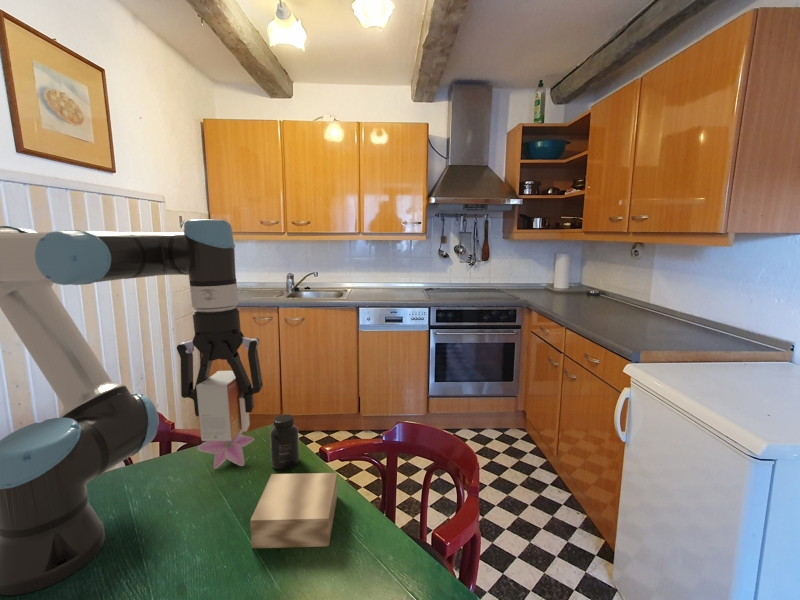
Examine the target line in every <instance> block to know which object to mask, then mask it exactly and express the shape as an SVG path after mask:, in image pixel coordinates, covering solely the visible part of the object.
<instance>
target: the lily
mask: <svg viewBox="0 0 800 600" xmlns="http://www.w3.org/2000/svg"><path fill="white" fill-rule="evenodd" d="M254 441H255V437H252V436H250V435H246V434H245V435H243V432H242V429H241V430H240V431H239V432H238V434H237V435H236V436H235V437H234V438H233V439H232V440H231V441H203V442H202V443H201V444H199V445H198V446H197V447H196V450H197V451H198V452H201V453H207V454H210V455H211V454H212V455H214V458H213V459H214V460H213V469H214V470H217V469H218V468H219V467H220V466H222V465H223V464H224V462H225V461H226V460H228V461H229V462H230V463H231V462H232V463H233V464H236V466H237V465H238V466H239V467H243V466H245V455H244V450H243V447H246V446H247V445H249V444H251V443H252V442H254Z"/></svg>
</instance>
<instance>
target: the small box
mask: <svg viewBox="0 0 800 600" xmlns="http://www.w3.org/2000/svg"><path fill="white" fill-rule="evenodd" d="M195 385H196V384H195ZM196 388H197V399H198V410H199V416H198V419H199V420H198V421H199V428H200V429H199V431H200V438H201V439H200V440H201V441H202V442H206V441H231V440H232V439H233V438H234V437H235V436H236V435H237V434H238V432H239V431H240V430H241V429H242V424H241V412H240V400H239V398H240V397H241V395H242V394H243V393H242V391H241V388H240V386H239V384H238V382H237V379H236V377H235V375H234V373H233V371H232V370H217V371H216V372H215V373H213V374H212V375H210V376H208V379H206V380H205V381H204V382H202V383H200V384H198V385H196Z"/></svg>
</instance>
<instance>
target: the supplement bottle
mask: <svg viewBox="0 0 800 600" xmlns="http://www.w3.org/2000/svg"><path fill="white" fill-rule="evenodd" d="M299 436H300V435H299V428H298V426H296V425H295V420H294V416H293V415H292V414H288V413H287V414H280V415H277V416H275V417H274V418H273V428H272V429H271V431H270V433H269V441H270V460H271V461H270V463H271V466H272V467H273V468H274V469H275V470H279V471H287V470H291V469H293V468H295V466H298V464H299V462H300V440H299V439H300V437H299Z"/></svg>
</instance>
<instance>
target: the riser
mask: <svg viewBox="0 0 800 600" xmlns="http://www.w3.org/2000/svg"><path fill="white" fill-rule="evenodd" d="M337 500H338V473H337V472H317V473H316V472H315V473H311V472H310V473H309V472H308V473H271V474H270V477H269V479H268V481H267V483H266V485H265V488H264V489H263V493H262V494H261V496H260V498H259V500H258V502H257V505H256V507H255V509H254V511H253V513H252V515H251V518H250V521H249V522H250V524H249V525H250V543H251V549H278V548H279V549H280V548H310V547H312V548H313V547H316V548H317V547H318V548H319V547H330V540H331V536H332V529H333V525H334V524H333V523H334V518H335V513H336V512H335V511H336V506H337Z"/></svg>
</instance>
